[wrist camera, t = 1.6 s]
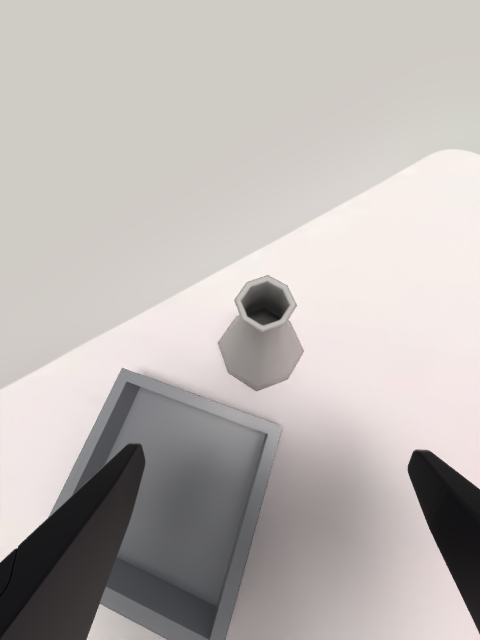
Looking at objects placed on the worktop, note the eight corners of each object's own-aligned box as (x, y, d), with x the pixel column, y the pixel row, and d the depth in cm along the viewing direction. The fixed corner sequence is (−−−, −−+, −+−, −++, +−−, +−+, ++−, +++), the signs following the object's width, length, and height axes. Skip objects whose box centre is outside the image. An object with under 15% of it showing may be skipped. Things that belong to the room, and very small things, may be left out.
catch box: (224, 618, 17) (218, 666, 14) (64, 538, 19) (25, 563, 16) (278, 424, 21) (282, 426, 18) (140, 374, 23) (122, 367, 20)
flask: (318, 353, 23) (362, 310, 14) (254, 406, 22) (256, 399, 12) (264, 296, 25) (272, 225, 16) (204, 342, 24) (174, 294, 15)
